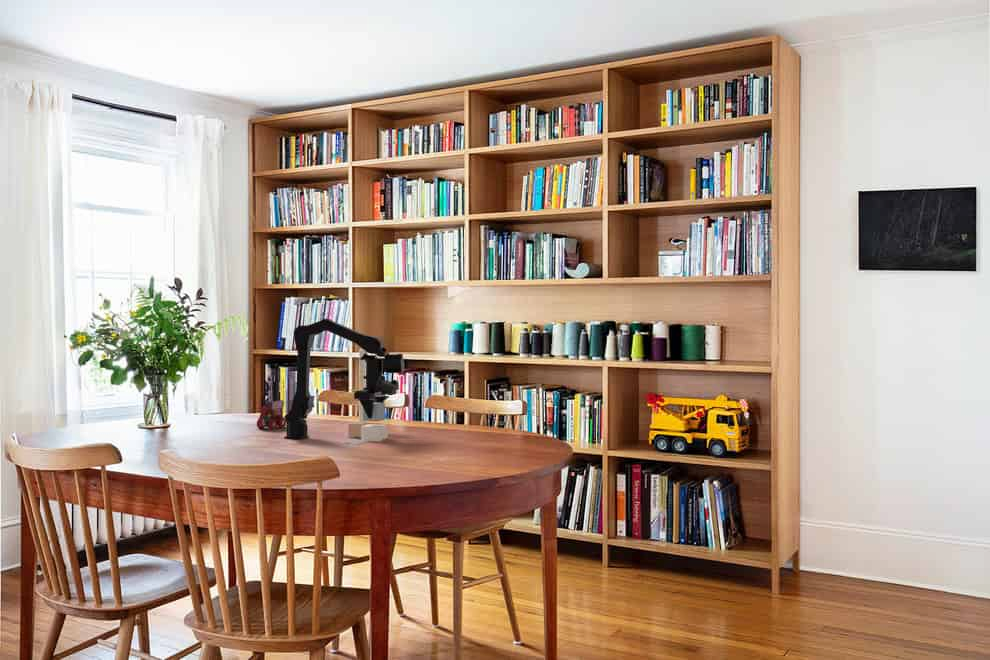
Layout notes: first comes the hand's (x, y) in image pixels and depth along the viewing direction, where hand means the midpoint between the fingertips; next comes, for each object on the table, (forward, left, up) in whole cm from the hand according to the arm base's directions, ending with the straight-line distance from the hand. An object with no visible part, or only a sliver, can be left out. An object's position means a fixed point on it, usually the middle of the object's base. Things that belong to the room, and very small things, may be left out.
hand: (373, 417), depth 307 cm
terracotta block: (-9, +4, -8) cm, 13 cm away
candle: (-14, +17, -8) cm, 23 cm away
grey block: (0, 0, -1) cm, 1 cm away
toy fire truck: (-49, +10, -8) cm, 51 cm away
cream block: (0, 0, -8) cm, 8 cm away
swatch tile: (-3, -8, -8) cm, 11 cm away
